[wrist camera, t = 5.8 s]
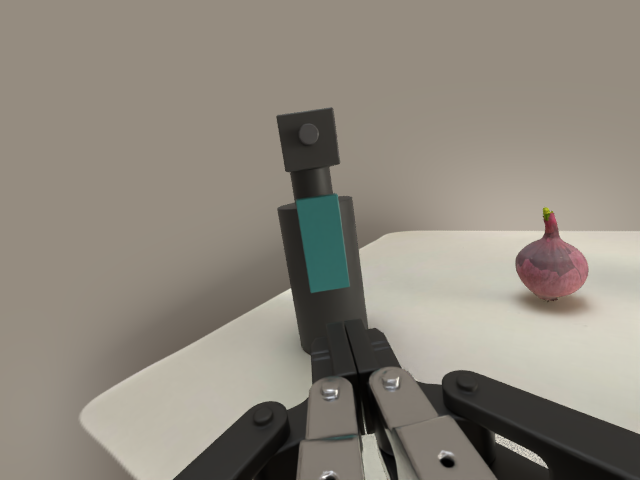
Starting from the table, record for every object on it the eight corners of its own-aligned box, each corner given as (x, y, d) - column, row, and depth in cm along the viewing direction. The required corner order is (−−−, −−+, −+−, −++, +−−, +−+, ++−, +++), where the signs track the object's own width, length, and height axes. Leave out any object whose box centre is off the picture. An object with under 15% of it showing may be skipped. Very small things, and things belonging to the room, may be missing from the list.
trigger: (350, 287, 24) (337, 194, 22) (310, 293, 24) (295, 200, 22) (347, 281, 25) (335, 193, 23) (310, 287, 25) (295, 199, 23)
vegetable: (569, 289, 35) (571, 200, 33) (602, 315, 29) (607, 209, 27) (507, 291, 37) (506, 206, 35) (527, 316, 31) (527, 216, 29)
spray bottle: (395, 395, 23) (362, 99, 19) (301, 411, 23) (246, 116, 19) (362, 317, 36) (338, 129, 31) (300, 326, 36) (268, 139, 31)
